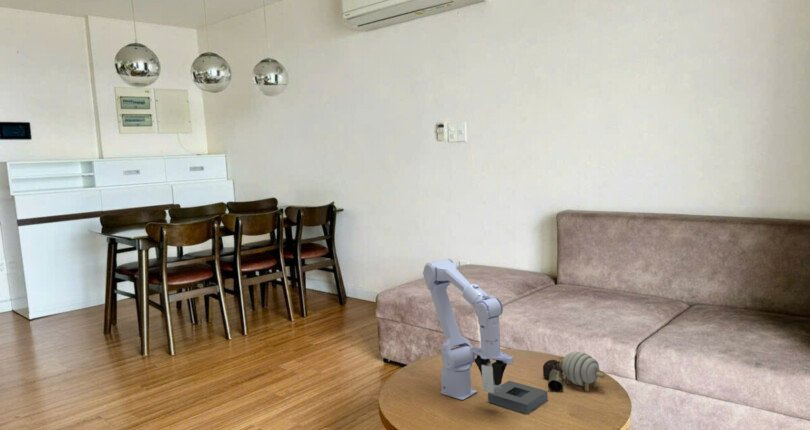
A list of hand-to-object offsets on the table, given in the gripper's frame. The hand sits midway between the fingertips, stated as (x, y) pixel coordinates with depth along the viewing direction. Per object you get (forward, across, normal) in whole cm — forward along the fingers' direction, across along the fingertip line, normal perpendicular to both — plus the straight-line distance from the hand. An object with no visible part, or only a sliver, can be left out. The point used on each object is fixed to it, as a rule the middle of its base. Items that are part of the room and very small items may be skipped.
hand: (492, 382), depth 169 cm
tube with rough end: (+10, +3, +30) cm, 32 cm away
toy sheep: (+9, +12, +32) cm, 35 cm away
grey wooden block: (+2, 0, 0) cm, 2 cm away
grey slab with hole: (+9, +2, +10) cm, 14 cm away
